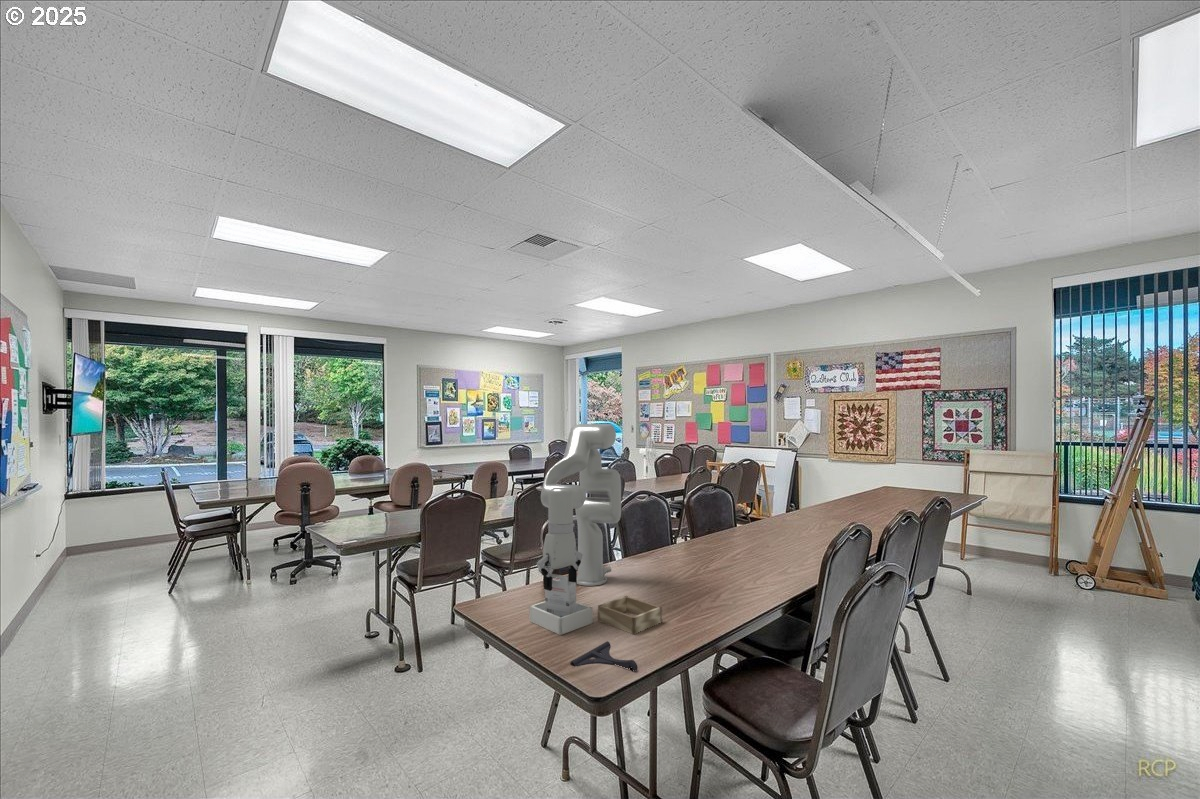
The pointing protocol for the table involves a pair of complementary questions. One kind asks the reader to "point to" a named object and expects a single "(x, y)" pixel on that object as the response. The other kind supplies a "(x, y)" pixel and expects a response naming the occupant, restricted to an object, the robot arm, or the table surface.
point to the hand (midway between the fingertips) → (560, 586)
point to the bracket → (602, 658)
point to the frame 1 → (561, 618)
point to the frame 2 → (616, 618)
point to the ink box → (561, 596)
